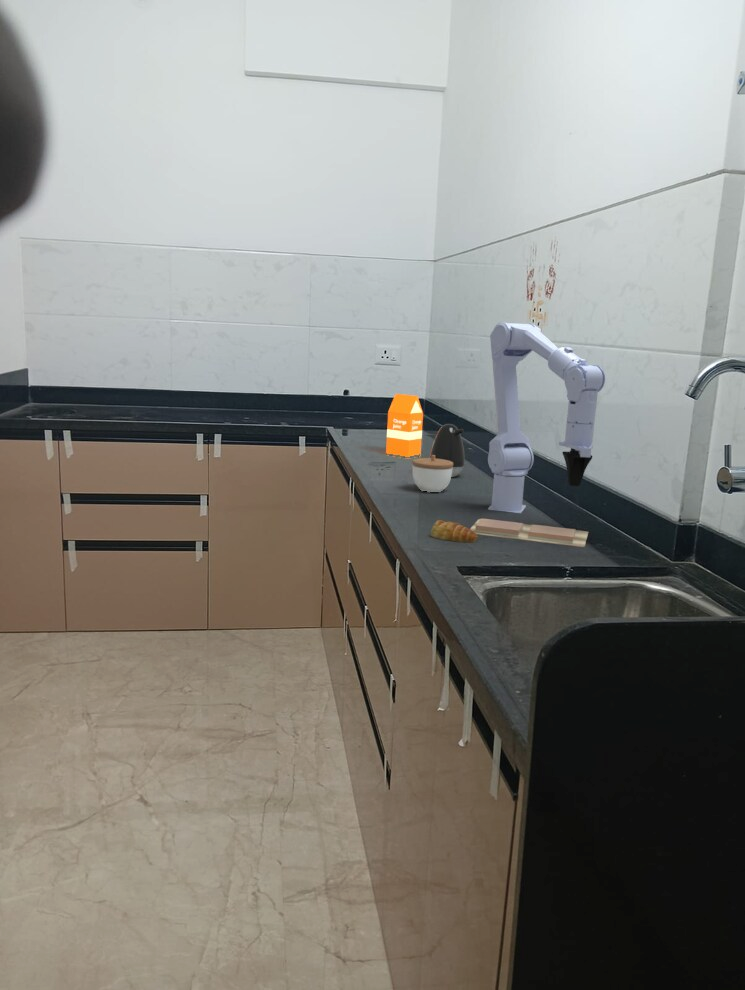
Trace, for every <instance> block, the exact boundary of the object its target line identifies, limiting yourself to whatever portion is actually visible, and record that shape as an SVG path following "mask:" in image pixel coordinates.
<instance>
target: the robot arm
mask: <svg viewBox="0 0 745 990" xmlns="http://www.w3.org/2000/svg"><path fill="white" fill-rule="evenodd" d="M489 337H490V350H491V359H492V371H493V373H492V374H493V384H494V399H495V411H496V422H497V423H496V424H497V425H496V426H497V434H496V435H495V437H493V438H492V439H491V440H490V441H489V443H488V444H489V445H488V447H489V451H488V455H487V462H488V466H489V469H490V470H491V473H493V485H492V497H491V505H490V506H489V507H488V508H487V510H489V511H499V512H507V513H508V512H509V513H515V514H517V513H518V514H522V513H523V511H524V510H525V509H526V508H527V505H526V504H523V499H524V489H525V488H524V487H525V477H526V476H525V475H528V473H529V471H530V470H531V469H532V466H533V465H534V461H535V459H534V458H535V457H534V452H533V450H532V448H531V441H530V439H529V438H528V437H527V436H526V435H525V434H524V433H523V432H522V428H521V427H522V426H521V425H522V424H521V416H520V414H521V413H520V403H519V402H520V401H519V391H518V388H519V387H518V377H517V365H518V364H520V362H521V361H523V360H524V359H525V358H526V357H527V356H528V355H530V353H532V352H534V353H535V354H537V355H538V356H540V357H542V358H543V359H544V360H546V361H547V366H548V368H549V370H550V371H551V372H553V373H554V374H555V375H556V376H558V377H559V378H560V379H561V380H563V381H564V386H565V389H566V394H567V395H566V398H567V400H568V406H567V415H566V416H567V417H566V424H565V425H566V426H565V434H564V435H565V438H564V441H558V445H559V446H561V447H566V448H569V449H570V450H569V451H562V456H563V459H564V462H565V466H566V471H567V472H566V474H567V475H566V476H567V481H568V485H569V486H571V487H580V486H581V484H582V480H583V478H584V474H585V472H586V469H587V467H588V465H589V464H590V462H591V461H592V459H593V455H592V449H593V448H594V444H593V441H594V440H593V439H594V431H595V421H596V411H597V401H598V393H600V392H601V390H602V389H603V388H604V386H605V383H606V374H605V371H604V370H603V368H602V367H601V366H600V365H598V364H592V365H590V364H588V362H587V360H586V359H585V358H581V357H579V356H578V355H577V354H575V353H574V349H573V348H572V347H570V346H569V347H563V346H562V347H557V346H556V344H554V342H552V341H551V340H550V339H549V338H548V337H547V336H546V335H544V334H543V333H542V329H541V328H540V327H538V326H536V325H535V323H514V322H513V323H511V322H505V321H501V322H498V323H497V324H496V325H495V326H494V328H493V329H492V331H491V333H490V335H489Z"/></svg>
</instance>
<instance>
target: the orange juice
mask: <svg viewBox="0 0 745 990" xmlns="http://www.w3.org/2000/svg"><path fill="white" fill-rule="evenodd" d="M423 420H424V412H423V409H422V406H421V403H420V400H419V396H418V395H412V394H401V393H395V394H394V398H392V401H391V404H390V407H389V409H388V412H387V427H386V428H387V429H386V444H385V445H386V448H385V454H386V453H387V454H393V455H400V456H405V457H410V456H414V455H419V454H420V455H421V451H422V438H423V437H422V436H423Z"/></svg>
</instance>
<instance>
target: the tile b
mask: <svg viewBox="0 0 745 990" xmlns="http://www.w3.org/2000/svg"><path fill="white" fill-rule="evenodd" d="M531 525H532V526H531V528H530V530H529V532H528V538H530V539H539V540H547V541H555V542H563V543H571V544H572V543H573V540H574V537H575V530H576V528H567V527H558V526H551V525H550V526H549V525H541V524H533V523H532V524H531Z"/></svg>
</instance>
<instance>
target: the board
mask: <svg viewBox="0 0 745 990" xmlns="http://www.w3.org/2000/svg"><path fill="white" fill-rule="evenodd" d="M481 519H482V518H478V519H476V521H475V522H474V523H473V525H472V526H471V527H470V528H469V529H470V530H472V531H474V532H475V529H476V524H477V523H478V522H479V521H480V520H481ZM532 525H533V524H526V523H523V530H522V532H521V533H520V535H519V537H514V536H506V535H498V534H490V533H481V532H475V533H476V534H477V535H480V536H481V535H482V536H488V537H499V538H504V539H514V540H521V541H529V542H538V543H546V544H552V545H553V544H555V545H562V546H570V547H578V548H579V547H580V548H585V547H586V542H587V539H588V537H589V536H588V535H589V531H586V530H585V531H584V530H579V529H578V530H575V537H574V540H573V543H572V544H571V543H563V542H555V541H547V540H539V539H530V538H528V532H529V530H530V528H531V526H532Z"/></svg>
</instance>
